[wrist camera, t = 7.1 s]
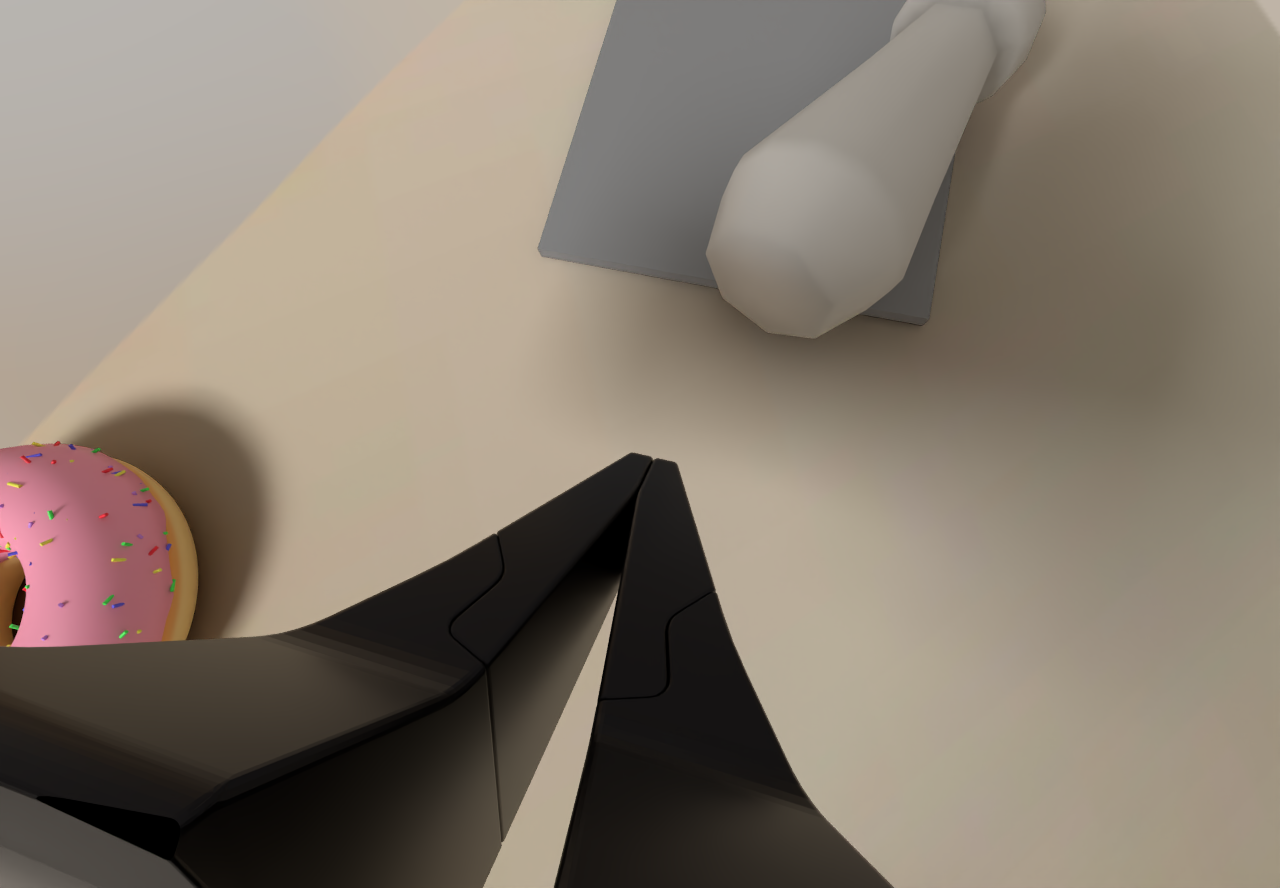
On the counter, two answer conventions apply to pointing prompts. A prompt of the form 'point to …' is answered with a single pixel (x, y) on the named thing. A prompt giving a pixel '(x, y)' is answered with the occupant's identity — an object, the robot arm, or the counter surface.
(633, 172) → the mat
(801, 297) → the salt shaker
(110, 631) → the doughnut
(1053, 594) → the counter surface
